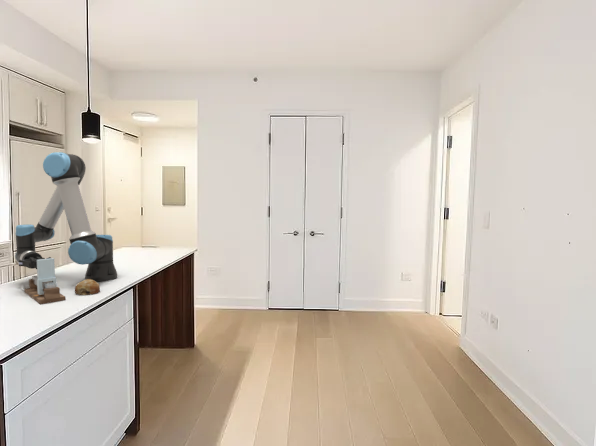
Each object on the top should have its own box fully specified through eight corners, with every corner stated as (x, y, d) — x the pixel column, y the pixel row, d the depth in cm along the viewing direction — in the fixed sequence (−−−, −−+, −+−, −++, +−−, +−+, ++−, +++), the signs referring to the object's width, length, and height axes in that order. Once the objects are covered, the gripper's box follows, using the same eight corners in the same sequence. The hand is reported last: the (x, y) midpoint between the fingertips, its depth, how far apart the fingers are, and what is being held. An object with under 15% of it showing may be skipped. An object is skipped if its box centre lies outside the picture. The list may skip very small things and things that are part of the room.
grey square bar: (32, 283, 179) (31, 275, 179) (40, 281, 181) (40, 274, 181) (47, 293, 162) (46, 285, 161) (56, 291, 164) (56, 283, 164)
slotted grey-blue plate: (37, 293, 166) (36, 259, 165) (54, 291, 171) (53, 258, 170) (39, 295, 164) (37, 260, 163) (56, 292, 169) (55, 258, 168)
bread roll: (74, 303, 173) (74, 289, 169) (75, 289, 181) (74, 275, 177) (100, 301, 178) (99, 286, 174) (99, 286, 185) (99, 273, 182)
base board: (24, 291, 178) (23, 279, 178) (47, 288, 185) (46, 276, 184) (40, 304, 159) (39, 291, 158) (65, 300, 165) (65, 287, 165)
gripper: (47, 265, 189) (62, 272, 173) (14, 269, 180) (27, 277, 164) (47, 250, 189) (61, 255, 172) (14, 253, 180) (26, 259, 163)
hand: (44, 266), depth 168 cm, fingers closed
